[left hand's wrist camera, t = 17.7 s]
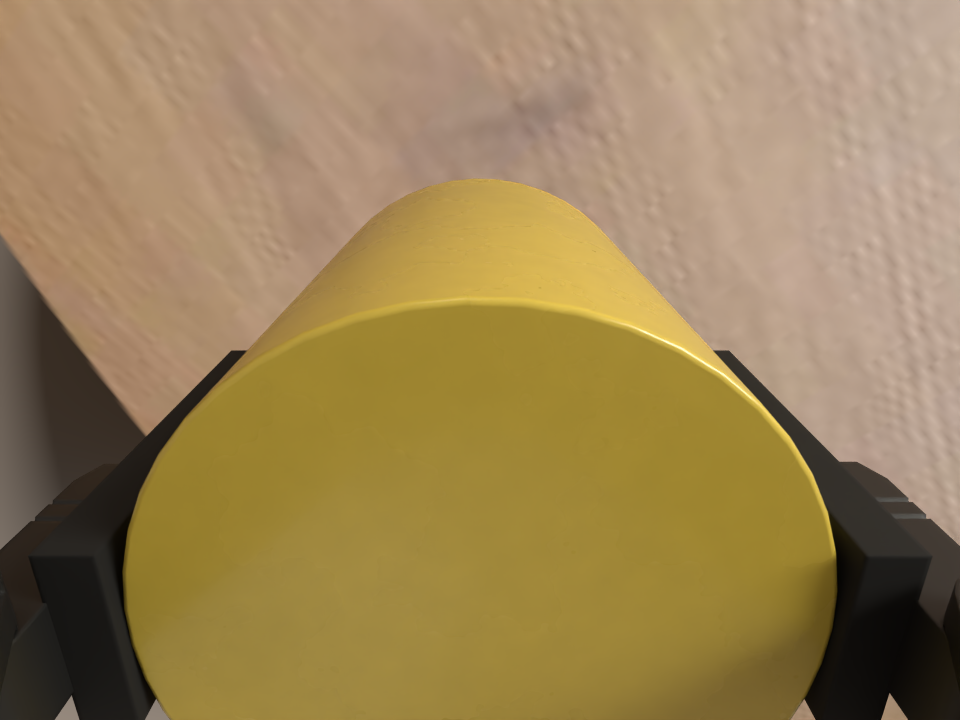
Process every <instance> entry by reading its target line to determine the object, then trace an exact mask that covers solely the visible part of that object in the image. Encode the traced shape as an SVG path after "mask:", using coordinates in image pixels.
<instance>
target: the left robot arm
mask: <svg viewBox="0 0 960 720" xmlns="http://www.w3.org/2000/svg"><path fill="white" fill-rule="evenodd" d="M246 352H247V351H231V352H230V353H229V354H228V355H227V356H226V357H225V358H224V359H223V360H222V361H221V362H220V363H219V364H218V365H217V366H216V367H215V368H214V369H213V370H212V371H211V372H210V373H209V374H208V375H207V376H206V377H205V378H204V379H203V380H202V381H201V382H200V383H199V384H198V385H197V386H196V387H195V388H194V389H193V390H192V391H191V392H190V393H189V394H188V395H187V396H186V397H185V398H184V399H183V400H182V401H181V402H180V403H179V404H178V405H177V406H176V407H175V408H174V409H173V410H172V411H171V412H170V413H169V414H168V415H167V416H166V417H165V418H164V419H163V420H162V421H161V422H160V423H159V424H158V425H157V426H156V427H155V428H154V429H153V430H152V431H151V432H150V433H149V434H148V435H147V436H146V437H145V438H144V439H143V440H142V441H141V442H140V444H138V445H137V446H136V447H135V449H134V450H133V451H132V452H131V453H130V454H129V455H128V456H127V457H126V458H125V459H124V460H123V461H122V462H121V463H120V464H103V465H102V466H100V467H98V468H96V469H94V470H92V471H91V472H89V473H87V474H85V475H83V476H82V477H80V478H78V479H76V480H74V481H73V482H72V483H71V484H70V485H69V486H68V487H67V488H66V489H65V490H64V491H62V492H61V493H60V494H59V495H58V496H57V497H56V498H55V499H54V500H53V504H49V505H48V506H46V507H45V508H44V509H43V510H42V511H41V512H40V513H39V514H38V515H37V516H36V517H35V521H31V522H29V523H28V524H27V525H26V526H25V527H24V528H23V529H22V530H21V531H20V532H19V533H18V534H17V535H16V536H15V537H13V538H12V539H11V540H10V541H9V542H8V543H7V544H6V545H5V546H4V547H3V548H2V549H1V550H0V720H55V718H56V717H57V716H58V714H59V713H60V711H61V710H62V708H63V707H64V705H65V704H66V702H67V701H68V700H69V698H70V697H71V695H72V697H73V701H74V704H75V707H76V710H77V713H78V716H79V720H145V718H146V716H147V715H148V713H149V711H150V709H151V707H152V705H153V703H154V702H155V700H156V697H155V695H154V694H153V692H152V690H151V688H150V687H149V685H148V683H147V681H146V680H145V677H144V675H143V672H142V670H141V667H140V664H139V662H138V659H137V657H136V654H135V651H134V649H133V646H132V643H131V638H130V633H129V629H128V624H127V620H126V615H125V610H124V593H123V564H124V556H125V548H126V540H127V532H128V527H129V524H130V521H131V518H132V514H133V511H134V508H135V504H136V501H137V498H138V495H139V491H140V489H141V487H142V485H143V483H144V482H145V480H146V478H147V476H148V474H149V472H150V470H151V468H152V466H153V464H154V462H155V460H156V458H157V456H158V454H159V452H160V451H161V450H162V448H163V447H164V446H165V444H166V443H167V442H168V440H169V439H170V437H171V436H172V435H173V433H174V432H175V431H176V429H177V428H178V426H179V425H180V424H181V422H182V421H183V420H184V418H185V417H186V416H187V415H188V414H189V413H190V412H191V411H192V410H193V409H194V408H195V406H196V405H197V404H198V403H199V402H200V401H201V400H202V399H203V398H204V397H205V396H206V395H207V394H208V392H209V391H210V390H211V389H212V388H213V387H214V386H215V385H216V384H217V383H218V382H219V381H220V380H221V378H222V377H223V376H224V375H225V374H226V373H227V372H228V371H229V370H230V369H231V368H232V367H233V366H234V364H235V363H236V362H237V361H238V360H239V359H240V358H241V357H242V356H243V355H244V354H245V353H246ZM713 352H714V353H715V354H716V355H717V356H718V357H719V358H720V359H721V360H722V361H723V362H724V363H725V364H726V366H727V367H728V368H729V369H730V370H731V371H732V372H733V373H734V374H735V375H736V376H737V377H738V379H739V380H740V381H741V382H742V383H743V384H744V385H745V386H746V387H747V388H748V389H749V390H750V391H751V393H752V394H753V395H754V396H755V397H756V398H757V399H758V400H759V401H760V402H761V403H762V405H763V406H764V407H765V408H766V409H767V410H768V412H769V413H770V414H771V415H772V416H773V417H774V419H775V420H776V421H777V422H778V423H779V424H780V426H781V427H782V428H783V429H784V430H785V431H786V433H787V434H788V435H789V436H790V437H791V439H792V441H793V442H794V444H795V446H796V447H797V449H798V451H799V452H800V454H801V456H802V457H803V459H804V461H805V462H806V464H807V465H808V467H809V469H810V470H811V472H812V474H813V476H814V479H815V481H816V484H817V486H818V489H819V491H820V494H821V496H822V499H823V501H824V504H825V506H826V509H827V511H828V516H829V521H830V525H831V530H832V535H833V540H834V545H835V549H836V565H837V599H836V606H835V613H834V621H833V628H832V632H831V635H830V638H829V641H828V645H827V648H826V651H825V655H824V658H823V661H822V664H821V666H820V668H819V670H818V672H817V674H816V677H815V679H814V681H813V683H812V685H811V687H810V689H809V691H808V693H807V695H806V697H805V698H804V699H805V701H806V703H807V705H808V706H809V708H810V710H811V712H812V714H813V716H814V717H815V719H816V720H881V718H882V715H883V712H884V709H885V705H886V702H887V699H888V696H889V693H890V694H891V695H892V697H893V698H894V700H895V701H896V703H897V704H898V706H899V707H900V708H901V710H902V711H903V713H904V714H905V716H906V717H907V719H908V720H960V546H959V545H958V544H957V543H956V542H955V541H954V540H953V539H952V538H950V537H949V536H948V535H947V534H946V533H945V532H944V531H943V530H942V529H941V528H940V527H939V526H938V525H936V524H935V523H934V522H933V521H932V520H931V519H926V514H925V513H924V512H923V511H921V510H920V509H919V508H918V507H917V506H916V505H915V504H914V503H913V502H909V501H908V498H907V497H906V496H905V495H904V494H903V493H902V492H901V491H900V490H899V489H898V488H897V487H896V486H895V485H894V484H892V483H891V482H890V481H889V480H888V479H887V478H885V477H883V476H882V475H880V474H878V473H876V472H874V471H872V470H871V469H869V468H867V467H865V466H863V465H862V464H860V463H858V462H839V461H838V460H837V459H836V458H835V457H834V456H833V455H832V454H831V453H830V452H829V451H828V450H827V449H826V448H825V447H824V446H823V445H822V444H821V443H820V442H819V441H818V440H817V439H816V438H815V437H814V436H813V435H812V434H811V433H810V432H809V431H808V430H807V429H806V428H805V427H804V426H803V425H802V424H801V423H800V422H799V421H798V420H797V419H796V418H795V417H794V416H793V415H792V414H791V413H790V412H789V411H788V410H787V409H786V408H785V407H784V406H783V405H782V404H781V403H780V402H779V401H778V400H777V399H776V398H775V397H774V396H773V395H772V394H771V393H770V392H769V391H768V390H767V389H766V388H765V387H764V386H763V384H762V383H761V382H760V381H759V380H758V379H757V378H756V377H755V376H754V375H753V374H752V373H751V372H750V371H749V370H748V369H747V368H746V367H745V366H744V365H743V364H742V363H741V362H740V361H739V360H738V359H737V358H736V357H735V356H734V355H733V354H732V353H731V352H730V351H713Z"/></svg>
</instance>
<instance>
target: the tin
mask: <svg viewBox="0 0 960 720" xmlns="http://www.w3.org/2000/svg"><path fill="white" fill-rule="evenodd" d="M123 593H124V610H125V615H126V620H127V624H128V629H129V633H130V638H131V643H132V646H133V649H134V651H135V654H136V657H137V659H138V662H139V664H140V667H141V670H142V672H143V675H144V677H145V680H146V681H147V683H148V685H149V687H150V688H151V690H152V692H153V694H154V695H155V697H156V699H157V701H158V703H159V704H160V706H161V708H162V710H163V711H164V712H165V714H166V715H167V716H168V718H169V719H170V720H790V719H791V718H792V716H793V715H794V713H795V712H796V710H797V709H798V707H799V706H800V704H801V703H802V701H803V700H804V698H805V697H806V695H807V693H808V691H809V689H810V687H811V685H812V683H813V681H814V679H815V677H816V674H817V672H818V670H819V668H820V666H821V664H822V661H823V658H824V655H825V651H826V648H827V645H828V641H829V638H830V635H831V632H832V628H833V621H834V613H835V606H836V599H837V565H836V549H835V545H834V540H833V535H832V530H831V525H830V521H829V516H828V511H827V509H826V506H825V504H824V501H823V499H822V496H821V494H820V491H819V489H818V486H817V484H816V481H815V479H814V476H813V474H812V472H811V470H810V469H809V467H808V465H807V464H806V462H805V461H804V459H803V457H802V456H801V454H800V452H799V451H798V449H797V447H796V446H795V444H794V442H793V441H792V439H791V437H790V436H789V435H788V434H787V433H786V431H785V430H784V429H783V428H782V427H781V426H780V424H779V423H778V422H777V421H776V420H775V419H774V417H773V416H772V415H771V414H770V413H769V412H768V410H767V409H766V408H765V407H764V406H763V405H762V403H761V402H760V401H759V400H758V399H757V398H756V397H755V396H754V395H753V394H752V393H751V391H750V390H749V389H748V388H747V387H746V386H745V385H744V384H743V383H742V382H741V381H740V380H739V379H738V377H737V376H736V375H735V374H734V373H733V372H732V371H731V370H730V369H729V368H728V367H727V366H726V364H725V363H724V362H723V361H722V360H721V359H720V358H719V357H718V356H717V355H716V354H715V353H714V352H713V350H712V349H711V348H710V347H709V346H708V345H707V344H706V343H705V342H704V341H703V340H702V339H701V337H700V336H699V335H698V334H697V333H696V332H695V331H694V330H693V329H692V328H691V327H690V326H689V324H688V323H687V322H686V321H685V320H684V319H683V318H682V317H681V316H680V315H679V314H678V313H677V312H676V310H675V309H674V308H673V307H672V306H671V305H670V304H669V303H668V302H667V301H666V300H665V299H664V297H663V296H662V295H661V294H660V293H659V292H658V291H657V290H656V289H655V288H654V287H653V286H652V285H651V283H650V282H649V281H648V280H647V279H646V278H645V277H644V276H643V275H642V274H641V273H640V272H639V270H638V269H637V268H636V267H635V266H634V265H633V264H632V263H631V262H630V261H629V260H628V259H627V258H626V256H625V255H624V254H623V253H622V252H621V251H620V250H619V249H618V248H617V247H616V246H615V245H614V243H613V242H612V241H611V240H610V239H609V238H608V237H607V236H606V235H605V234H604V233H603V232H602V231H601V229H600V228H599V227H598V226H597V225H595V224H594V223H593V222H592V221H591V220H590V219H589V218H587V217H586V216H585V215H584V214H583V213H582V212H580V211H579V210H577V209H576V208H574V207H573V206H571V205H570V204H568V203H567V202H565V201H564V200H562V199H560V198H557V197H555V196H553V195H551V194H549V193H547V192H545V191H543V190H540V189H537V188H533V187H530V186H527V185H524V184H521V183H515V182H509V181H504V180H498V179H466V180H456V181H449V182H445V183H441V184H437V185H433V186H429V187H426V188H424V189H421V190H419V191H416V192H413V193H411V194H408V195H406V196H405V197H403V198H401V199H399V200H398V201H396V202H394V203H392V204H390V205H389V206H387V207H386V208H385V209H383V210H382V211H381V212H379V213H378V214H377V215H375V216H374V217H373V218H371V219H370V220H369V221H368V222H367V223H366V224H365V225H364V226H363V227H362V228H361V229H360V230H359V231H358V232H357V233H356V234H355V235H354V236H353V237H352V238H351V240H350V241H349V242H348V243H347V244H346V245H345V246H344V247H343V248H342V249H341V250H340V251H339V252H338V254H337V255H336V256H335V257H334V258H333V259H332V260H331V261H330V262H329V263H328V264H327V265H326V266H325V268H324V269H323V270H322V271H321V272H320V273H319V274H318V275H317V276H316V277H315V278H314V279H313V280H312V282H311V283H310V284H309V285H308V286H307V287H306V288H305V289H304V290H303V291H302V292H301V293H300V294H299V296H298V297H297V298H296V299H295V300H294V301H293V302H292V303H291V304H290V305H289V306H288V307H287V308H286V310H285V311H284V312H283V313H282V314H281V315H280V316H279V317H278V318H277V319H276V320H275V321H274V322H273V324H272V325H271V326H270V327H269V328H268V329H267V330H266V331H265V332H264V333H263V334H262V335H261V336H260V338H259V339H258V340H257V341H256V342H255V343H254V344H253V345H252V346H251V347H250V348H249V349H248V350H247V352H246V353H245V354H244V355H243V356H242V357H241V358H240V359H239V360H238V361H237V362H236V363H235V364H234V366H233V367H232V368H231V369H230V370H229V371H228V372H227V373H226V374H225V375H224V376H223V377H222V378H221V380H220V381H219V382H218V383H217V384H216V385H215V386H214V387H213V388H212V389H211V390H210V391H209V392H208V394H207V395H206V396H205V397H204V398H203V399H202V400H201V401H200V402H199V403H198V404H197V405H196V406H195V408H194V409H193V410H192V411H191V412H190V413H189V414H188V415H187V416H186V417H185V418H184V420H183V421H182V422H181V424H180V425H179V426H178V428H177V429H176V431H175V432H174V433H173V435H172V436H171V437H170V439H169V440H168V442H167V443H166V444H165V446H164V447H163V448H162V450H161V451H160V452H159V454H158V456H157V458H156V460H155V462H154V464H153V466H152V468H151V470H150V472H149V474H148V476H147V478H146V480H145V482H144V483H143V485H142V487H141V489H140V491H139V495H138V498H137V501H136V504H135V508H134V511H133V514H132V518H131V521H130V524H129V527H128V532H127V540H126V548H125V556H124V564H123Z"/></svg>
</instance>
